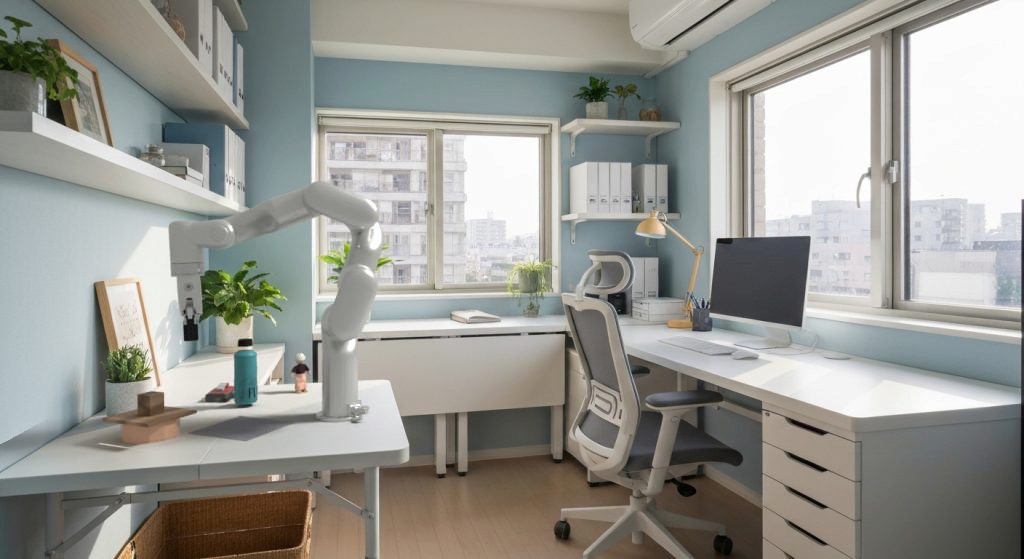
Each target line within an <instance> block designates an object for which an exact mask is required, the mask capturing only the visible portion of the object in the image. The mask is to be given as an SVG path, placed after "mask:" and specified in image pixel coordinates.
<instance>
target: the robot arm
mask: <svg viewBox="0 0 1024 559" xmlns="http://www.w3.org/2000/svg"><path fill="white" fill-rule="evenodd" d="M321 216H324V217H327V218H329V219H331V220H333V221H337V222H338V223H342V224H344V225H345V226H346V227H347V228H348V230H349V232H350V235H351V241H350V247H349V249H348V251H347V255H346V258H345V260H344V262H343V263H344V264H343V266H342V268H341V271H340V273H339V275H338V278H337V282H336V285H337V286H336V287H337V289H338V290H337V294H336V296H335V298H334V301H333V303H332V304H331V303H330V304H329V305H328V306H327V307H326V308H325V309H324V310H323V313H322V316H321V319H320V331H321V357H322V361H321V371H322V372H321V410H320V411H318V412H317V413H316V414H315V418H316V420H318V421H320V422H325V423H345V422H346V423H347V422H351V421H358V420H360V419H362V418H363V417H364V416H365V415H368V414H369V410H370V406H368V405H362V400H361V399H359V395H358V394H359V343H358V342H359V339H358V337H359V336H360V335H361V333H362V331H364V327H365V325H366V322H367V320H368V317H369V315H370V312H371V310H372V307H373V305H374V301H375V298H376V296H377V292H378V286H379V285H378V278H377V276H376V274H375V273H376V270H377V267H378V263H379V261H380V258H381V256H382V255H381V254H382V251H383V246H384V236H383V231H382V227H381V225H380V222H379V219H380V211H379V208H378V206H377V205H376V203H374V202H373V201H372V200H371V199H369V198H367V197H365V196H362V195H360V194H357V193H354V192H352V191H350V190H347V189H345V188H343V187H340V186H337V185H335V184H332V183H330V182H327V181H324V180H316V181H314V182H311V183H310V184H308V185H306V186H303V187H300V188H298V189H294V190H292V191H289V192H286V193H283V194H280V195H277V196H274V197H271V198H268V199H266V200H264V201H262V202H260V203H258V204H256V205H255V206H253V207H252V208H249V209H246V210H244V211H242V212H239V213H236V214H233V215H230V216H227V217H225V218H222V219H220V218H219V219H218V218H217V219H211V220H201V221H197V220H173V221H171V222H170V223H169V224H168V244H169V263H170V264H169V266H170V277H172V278H176V289H177V291H176V292H177V299H178V300H177V301H178V307H179V311H180V313H179V314H180V316H181V317H183V322H182V324H183V326H182V328H183V332H182V333H183V341H184V342H195V341H198V340H199V326H198V325H199V324H198V319H197V314H199V316H202V315H203V299H202V298H203V297H202V296H203V294H202V281H201V276H202V277H204V276H206V275H205V263H204V262H205V258H204V257H205V256H204V255H205V254H204V249H213V250H225V249H229V248H231V247H233V246H236V245H238V244H242V243H245V242H247V241H249V240H253V239H255V238H259V237H261V236H264V235H269V234H273V233H276V232H279V231H282V230H285V229H288V228H291V227H293V226H295V225H298V224H301V223H304V222H306V221H309V220H312V219H315V218H318V217H321Z"/></svg>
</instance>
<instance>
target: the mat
mask: <svg viewBox="0 0 1024 559" xmlns="http://www.w3.org/2000/svg"><path fill="white" fill-rule="evenodd" d="M295 423H296V422H295V421H288V420H287V421H286V420H278V419H270V418H261V417H253V416H252V417H251V416H243V415H239V416H236V417H233V418H229V419H227V420H224V421H220V422H218V423H215V424H211V425H208V426H205V427H202V428H199V429H196V430H192V431H190V432H187V434H189V435H197V436H204V437H209V438H219V439H226V440H233V441H242V442H248V441H251V440H253V439H254V440H255V439H256V438H260V437H261V436H263V435H266V434H269V433H272V432H274V431H278V430H279V429H282V428H286V427H287V426H290V425H292V424H295Z"/></svg>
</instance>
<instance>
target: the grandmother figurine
mask: <svg viewBox="0 0 1024 559" xmlns="http://www.w3.org/2000/svg"><path fill="white" fill-rule="evenodd" d="M294 360H295V363H296V365H295V366H292V369H291V370H290V373H289V374H290V375H289V378H291V379H292V378H293V377H295V381H294V391H293V393H294V394H302V393H308V390H307V389H308V385H307V378H306V377H307V376H306V373H307V374H308V376H311V375H312V372H311V370H310V368H309V366H308V365H307V364H306V363H305V361H306V356H305V354H304V353H303V352H301V353H300V352H299V353H297V354H296V355H295V356H294ZM294 375H295V376H294Z"/></svg>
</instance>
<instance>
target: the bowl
mask: <svg viewBox="0 0 1024 559" xmlns="http://www.w3.org/2000/svg"><path fill="white" fill-rule="evenodd" d="M180 434H181V418H179V419H175V420H172V421H168V422H165V423H162V424H158V425H155V426H151V427H141V426H134V425H126V424H120V439H121V441H122V442H123V443H127V444H132V445H135V444H136V445H139V444H140V445H141V444H151V443H152V444H153V443H160V442H164V441H168V440H171V439H174V438H176V437H177V436H179V435H180Z"/></svg>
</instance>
